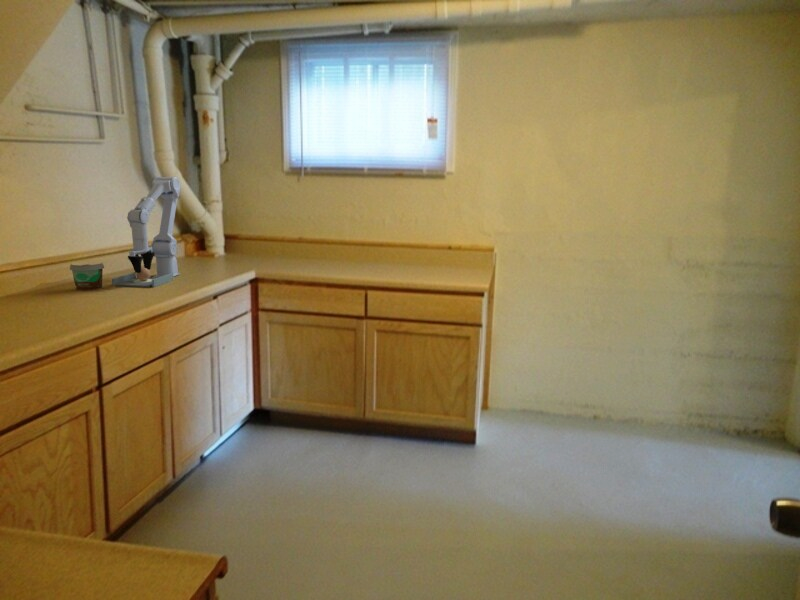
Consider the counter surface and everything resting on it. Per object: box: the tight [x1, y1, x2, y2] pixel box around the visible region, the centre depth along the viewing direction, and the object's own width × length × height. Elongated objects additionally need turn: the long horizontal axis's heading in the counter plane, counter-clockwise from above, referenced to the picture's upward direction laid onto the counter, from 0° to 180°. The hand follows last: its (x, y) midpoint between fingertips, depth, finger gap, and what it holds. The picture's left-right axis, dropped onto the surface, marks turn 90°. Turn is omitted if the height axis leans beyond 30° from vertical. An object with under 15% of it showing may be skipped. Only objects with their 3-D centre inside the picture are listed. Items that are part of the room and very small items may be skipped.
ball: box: [136, 267, 151, 281], centre depth 243 cm, size 6×6×6 cm
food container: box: [69, 262, 105, 291], centre depth 228 cm, size 12×6×10 cm, turn 105°
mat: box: [115, 276, 158, 289], centre depth 243 cm, size 18×14×1 cm
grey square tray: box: [111, 271, 174, 288], centre depth 243 cm, size 16×18×3 cm
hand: (142, 271), depth 242 cm, fingers open, 7 cm apart
